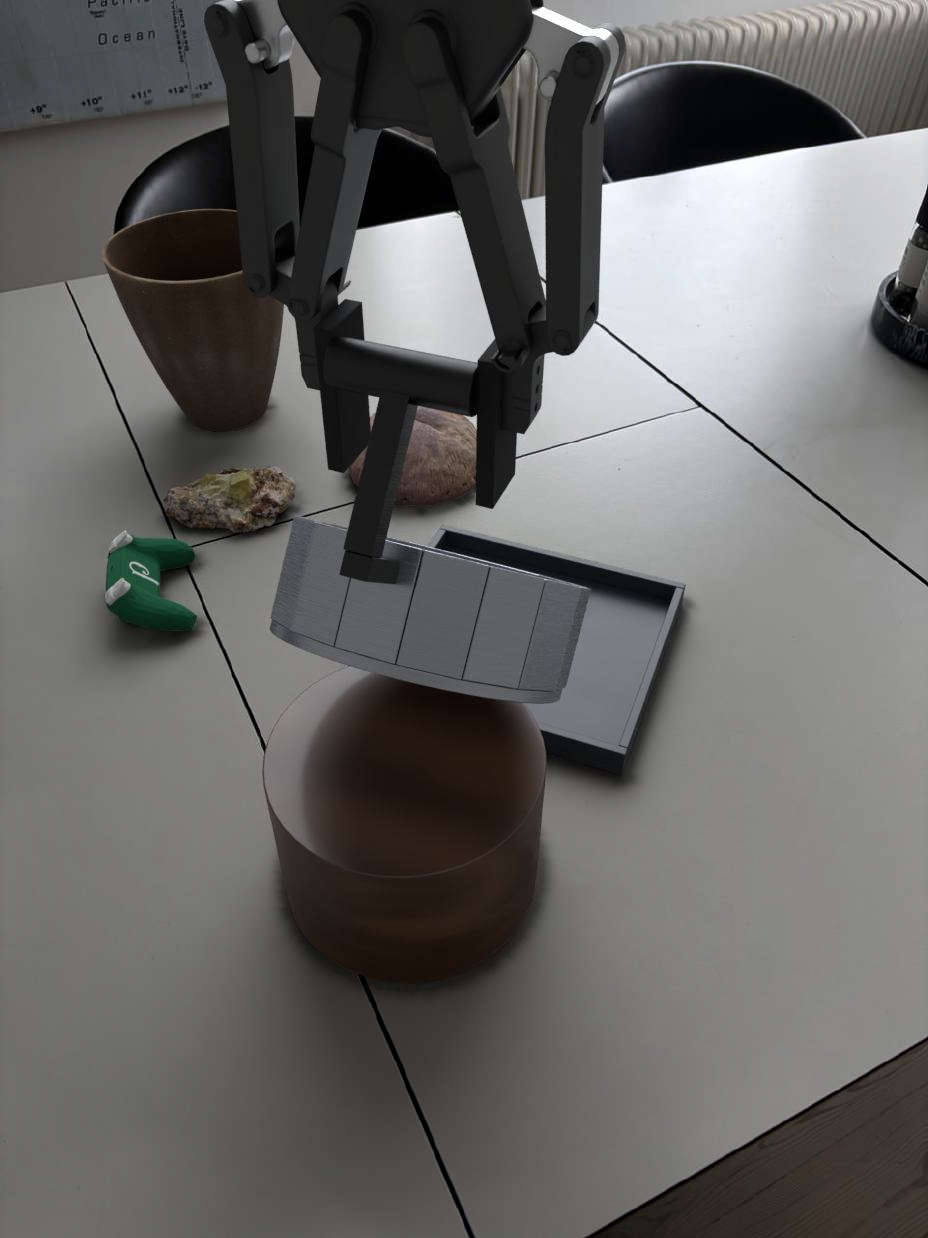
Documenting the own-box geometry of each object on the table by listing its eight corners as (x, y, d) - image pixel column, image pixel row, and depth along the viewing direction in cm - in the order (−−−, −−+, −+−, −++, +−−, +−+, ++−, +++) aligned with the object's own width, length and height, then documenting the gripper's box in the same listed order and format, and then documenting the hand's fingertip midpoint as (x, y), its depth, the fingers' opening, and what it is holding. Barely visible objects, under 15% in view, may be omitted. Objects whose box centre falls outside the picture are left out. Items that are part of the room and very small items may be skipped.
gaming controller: (170, 576, 79) (101, 541, 76) (199, 544, 78) (129, 508, 74) (170, 657, 73) (95, 623, 69) (201, 624, 71) (125, 588, 68)
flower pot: (156, 469, 87) (113, 294, 76) (132, 387, 97) (91, 221, 86) (324, 435, 91) (305, 264, 80) (284, 360, 101) (263, 198, 90)
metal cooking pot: (341, 623, 58) (393, 404, 57) (582, 691, 54) (642, 457, 53) (162, 626, 40) (234, 310, 39) (500, 727, 36) (588, 379, 35)
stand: (354, 740, 65) (341, 628, 58) (568, 808, 61) (581, 695, 54) (237, 929, 55) (206, 820, 48) (484, 1023, 51) (488, 919, 44)
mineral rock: (288, 444, 86) (294, 474, 79) (297, 492, 88) (304, 525, 81) (160, 464, 84) (155, 496, 77) (172, 513, 86) (168, 548, 79)
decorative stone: (465, 521, 82) (465, 465, 78) (327, 497, 84) (321, 441, 80) (500, 443, 90) (502, 389, 86) (374, 423, 92) (370, 369, 89)
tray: (442, 543, 80) (442, 523, 78) (681, 604, 74) (686, 583, 73) (345, 692, 68) (343, 671, 66) (622, 775, 63) (625, 755, 61)
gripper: (779, -243, 27) (661, 473, 43) (178, -255, 32) (270, 387, 48) (724, -228, 22) (613, 579, 38) (21, -246, 27) (181, 470, 43)
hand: (421, 471), depth 43 cm, fingers closed on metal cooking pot, 6 cm apart
